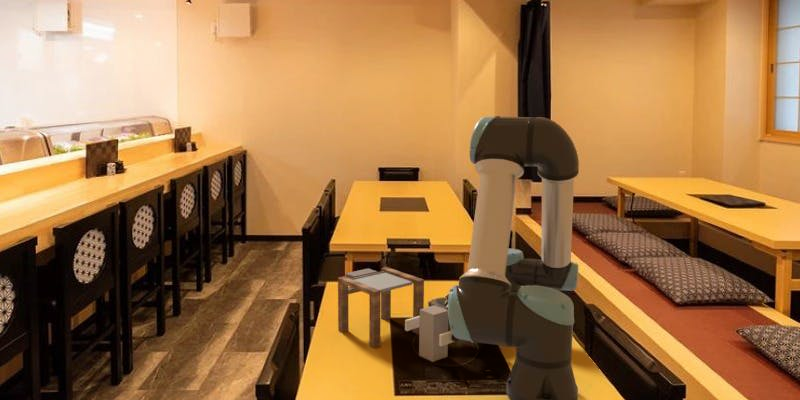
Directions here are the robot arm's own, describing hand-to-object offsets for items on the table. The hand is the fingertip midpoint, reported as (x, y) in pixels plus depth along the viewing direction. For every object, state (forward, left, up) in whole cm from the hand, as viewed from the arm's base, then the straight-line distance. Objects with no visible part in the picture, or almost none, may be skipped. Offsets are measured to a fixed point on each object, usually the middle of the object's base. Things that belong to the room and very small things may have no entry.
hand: (422, 332), depth 153 cm
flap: (+23, -4, +6) cm, 24 cm away
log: (+24, -32, -8) cm, 41 cm away
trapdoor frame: (+21, -4, -7) cm, 22 cm away
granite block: (0, -4, -7) cm, 8 cm away
